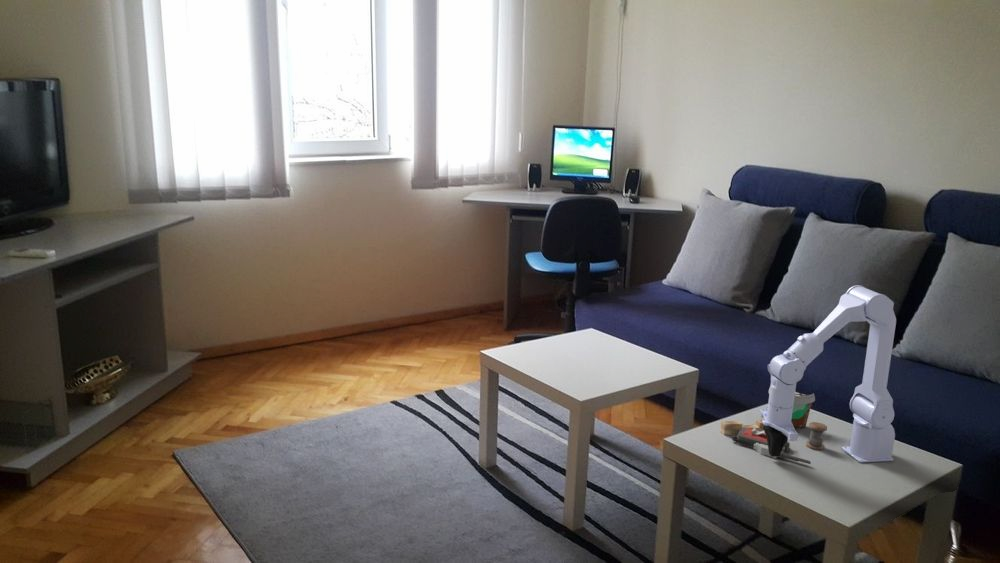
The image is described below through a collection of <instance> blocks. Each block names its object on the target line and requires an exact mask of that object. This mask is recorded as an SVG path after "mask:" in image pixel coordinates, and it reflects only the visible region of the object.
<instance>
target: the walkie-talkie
mask: <svg viewBox="0 0 1000 563" xmlns="http://www.w3.org/2000/svg"><path fill="white" fill-rule="evenodd" d="M736 435H737V436H732V439H731V440H732V441H733V442H735V443H737V445H741V446H743V447H747V448H751V449H754V451H756V452H757V453H758V454H760V455H762V456H765V457H766V456H767V457H769V458H773V459H775V460H776V459H777V458H782V459H787V460H791V461H794V462H801V463H805V464H809V465H811V464H812V463H811V461H810V460H808V459H806V458H805V459H804V458H801V457H798V456H794V455H792V454H791V455H790V454H787V453H784V452H785V451H789V448H790V441H789V440H787V441H786V443H785V445H784V447H783V449H782V451H781V453H780V455H779V456H774V457H772V456H771V455H770V454H769V450H768V442H767V438H766V434H765V432H764V431H761V432H760V431H757V430H756V429H755V428H754V429H749V428H745V427H743V428H742V429H741V430H740V431H739V432H738V434H736Z"/></svg>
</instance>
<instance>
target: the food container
mask: <svg viewBox="0 0 1000 563" xmlns="http://www.w3.org/2000/svg"><path fill="white" fill-rule="evenodd" d="M768 394H770V387H769V389H768ZM815 401H816V395H815V393H811V394H805V393H801V392H798V391H796V390H795V396H794V404H793V412H792V419H791V422H792V424H793V426H794V429H795V430H802V429H804V428H806V427H807V423H808V419H809V416H810V411H811V408H812V403H814V402H815Z"/></svg>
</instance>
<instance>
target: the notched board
mask: <svg viewBox="0 0 1000 563" xmlns="http://www.w3.org/2000/svg"><path fill="white" fill-rule="evenodd" d="M762 420H764V418H762V419H756V420H755V424H743V423H742V422H741V421H740V420H723V421H721V422H720V423H721V425H720V430H719V431H720V432H719V433H721V434H722V435H724V436H726V435H727V436H728V435H729V436H730V435H738V432H739V431H740V430H741V429H742V428H743V427H745V428H749V429H754V428H755V429H756V430H757V431H760V432H761V431H764V430H763V426H765V425H764V424H763V423H762Z"/></svg>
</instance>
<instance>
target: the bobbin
mask: <svg viewBox="0 0 1000 563" xmlns="http://www.w3.org/2000/svg"><path fill="white" fill-rule="evenodd" d="M808 428H809V429H810V435H809V440H807V441H806V443H805V446H806V447H807V448H809V449H811V450H814V451H823V450H824V449H825V444H824V443H823V438H824V432H826V431H827V430H828V426H827V425H826V424H824V423H821V422H816V421H813V422H812V421H811V422H809V423H808Z"/></svg>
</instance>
